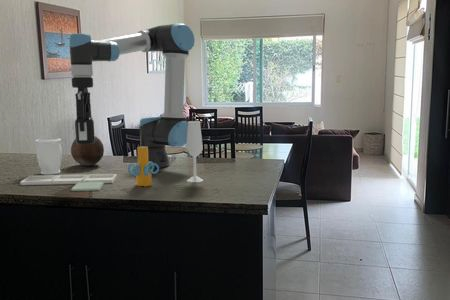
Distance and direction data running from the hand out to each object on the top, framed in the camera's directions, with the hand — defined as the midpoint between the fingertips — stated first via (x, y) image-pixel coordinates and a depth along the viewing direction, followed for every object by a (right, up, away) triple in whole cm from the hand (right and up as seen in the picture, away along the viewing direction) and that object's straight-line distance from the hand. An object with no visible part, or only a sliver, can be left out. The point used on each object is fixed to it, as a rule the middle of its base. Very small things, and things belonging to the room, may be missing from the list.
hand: (85, 138), depth 173 cm
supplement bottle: (0, -2, 0) cm, 2 cm away
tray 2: (+2, -17, +15) cm, 22 cm away
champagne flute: (+40, -17, +14) cm, 46 cm away
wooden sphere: (-13, -12, +46) cm, 50 cm away
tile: (0, -19, +3) cm, 19 cm away
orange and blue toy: (+21, -18, +7) cm, 29 cm away
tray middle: (-10, -17, +14) cm, 24 cm away
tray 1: (-22, -17, +13) cm, 31 cm away
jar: (-24, -15, +30) cm, 41 cm away
